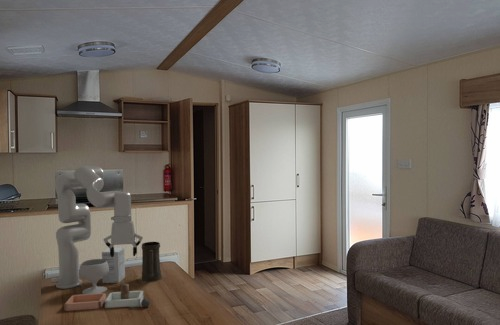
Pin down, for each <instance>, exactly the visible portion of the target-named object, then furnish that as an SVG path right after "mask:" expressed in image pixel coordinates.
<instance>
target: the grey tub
mask: <svg viewBox="0 0 500 325" xmlns="http://www.w3.org/2000/svg"><path fill="white" fill-rule="evenodd" d="M106 298H107V299H106V300H105V302H104V308H105V309H111V308H120V307H121V308H125V307H129V308H139V307H141V306H142V304H141V302H142V300H143V299H145V298H144V290H129V299H122V300H121V291H115V292H114V291H112V292H109V294H108V296H106Z"/></svg>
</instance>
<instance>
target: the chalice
mask: <svg viewBox="0 0 500 325" xmlns="http://www.w3.org/2000/svg"><path fill="white" fill-rule="evenodd" d="M108 272H109V266H108V263H107V261H106V260H104V259H102V258H93V259H88V260H85V261H83V262H81V264H80V265H79V277H80V278H81V279H82V280H86V281H89V282H90V283H91V284H92V286H91V287H87V288H85V289H83V290H82V291H81V293H82V294H97V293H105V292H106V291H107V290H108V287H106V286H103V285H102V286H101V285H99V286H97V283H98V282H99V281H100V280H101V279H103V277H104V276H106V275H107V273H108Z"/></svg>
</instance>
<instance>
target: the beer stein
mask: <svg viewBox="0 0 500 325" xmlns="http://www.w3.org/2000/svg"><path fill="white" fill-rule="evenodd" d="M160 247H161V244H160V242H159V241H148V242H147V241H146V242H142V244H141V250H142V262H141V281H143V282H148V283H149V282H156V281H160V280H161V279H162V270H161V263H160V262H161V261H160V260H161V259H160Z"/></svg>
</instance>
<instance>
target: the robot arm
mask: <svg viewBox="0 0 500 325" xmlns="http://www.w3.org/2000/svg"><path fill="white" fill-rule="evenodd" d="M104 179H105V171H104V170H103V168H102V167H100V166H99V165H85V166H79V167H77V168H76V169H75V170H74V171H73V172H66V173H62V174H59V175H58V176H57V177H56V178H55V181H54V188H55V193H56V196H57V210H58V211H57V212H58V220H59V222H60V223H62V224H67V225H64V226H61V227H59V228H58V229H57V230H56V232H55V240H56V242H57V249H58V251H57V252H58V272H59V274H58V275H59V276H58V277H52V278H51V279H50V281H51V283H56V284H55V285H56V288H57V289H60V290H61V289H62V290H64V289H65V290H66V289H73V288H77V287H79V286H81V285H82V284H83V279H80V275H79V269H80V265H79V264H80V263H79V261H80V258H79V250H78V249H79V248H77V246H76V244H75V243H78V242H83V241H87V240H88V239H90V238H91V234H92V225H91V224H92V219H91V218H92V217H91V216H92V215H91V210H90V207H89V205H87V204H86V203H77V201H76V200H77V199H76V194H75V193H74V192H73V190H78V189H86V191H85V192H86V198H87V200H88V202H89V203H91V204H92V205H93V206H94V207H95V208H97V209H108V208H113V216H111V217H110V220H111V221H113V222H112V223H111V231H110V235H108V236H106V237H105V238H103V242H104V243H105V246H106V247H107V248H110V255H111V257H113V256H114V248H115V247H114V246H119V245H120V246H121V245H132V256H133V257H136V255H137V254H138V246H139V245H140V244H141V242H142V241H143V236H141V235H139V234H137V233H135V226H134V225H135V224H134V221H133V220H132V195H131V193H130V192H129V191H121V190H109V191H102V189H103V188H104V185H105V181H104ZM77 222H78V223H77ZM70 223H75V224H70ZM68 224H69V225H68ZM136 239H138V241H137V242H136V241H135V240H136ZM109 240H110V242H109Z"/></svg>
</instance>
